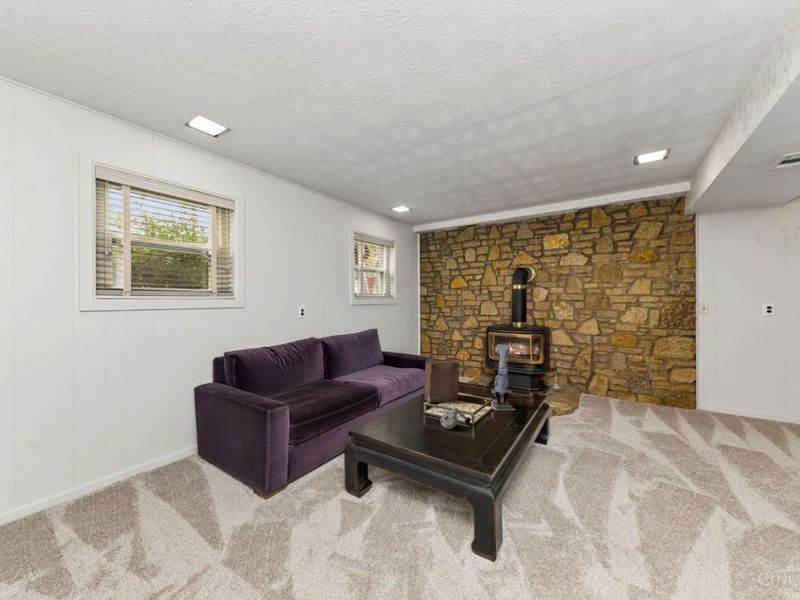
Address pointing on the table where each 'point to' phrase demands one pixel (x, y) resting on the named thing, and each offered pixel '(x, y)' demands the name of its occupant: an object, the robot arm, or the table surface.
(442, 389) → the book
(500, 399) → the brass rounded knob
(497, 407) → the socket plate
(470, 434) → the table surface
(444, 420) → the mechanical valve
